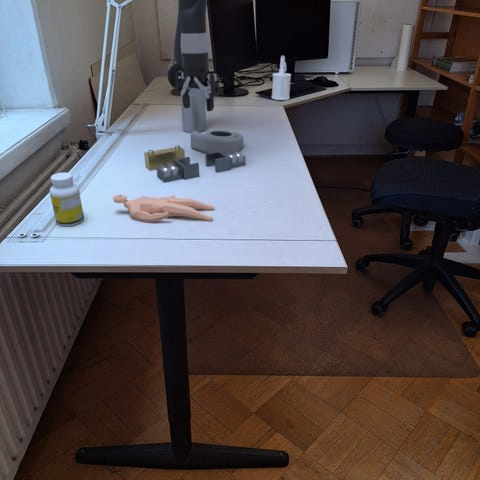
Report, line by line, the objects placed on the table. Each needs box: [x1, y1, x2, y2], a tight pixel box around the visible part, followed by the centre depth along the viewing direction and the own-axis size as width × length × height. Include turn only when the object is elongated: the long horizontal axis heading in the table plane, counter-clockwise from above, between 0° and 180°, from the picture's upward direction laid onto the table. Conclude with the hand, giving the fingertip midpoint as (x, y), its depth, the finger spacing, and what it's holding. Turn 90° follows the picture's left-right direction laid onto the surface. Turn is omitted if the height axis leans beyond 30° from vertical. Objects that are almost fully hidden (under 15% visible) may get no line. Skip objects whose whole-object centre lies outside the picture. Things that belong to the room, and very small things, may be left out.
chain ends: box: [156, 150, 246, 183], centre depth 135 cm, size 7×28×4 cm, turn 122°
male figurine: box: [112, 193, 215, 223], centre depth 110 cm, size 11×5×25 cm
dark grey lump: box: [167, 63, 184, 97], centre depth 227 cm, size 13×13×15 cm
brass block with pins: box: [143, 145, 186, 172], centre depth 139 cm, size 4×12×6 cm, turn 122°
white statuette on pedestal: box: [271, 55, 292, 101], centre depth 219 cm, size 10×9×20 cm
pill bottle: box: [49, 172, 85, 227], centre depth 104 cm, size 6×6×12 cm
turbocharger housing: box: [190, 129, 244, 154], centre depth 154 cm, size 17×6×15 cm
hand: (198, 109), depth 132 cm, fingers open, 8 cm apart
